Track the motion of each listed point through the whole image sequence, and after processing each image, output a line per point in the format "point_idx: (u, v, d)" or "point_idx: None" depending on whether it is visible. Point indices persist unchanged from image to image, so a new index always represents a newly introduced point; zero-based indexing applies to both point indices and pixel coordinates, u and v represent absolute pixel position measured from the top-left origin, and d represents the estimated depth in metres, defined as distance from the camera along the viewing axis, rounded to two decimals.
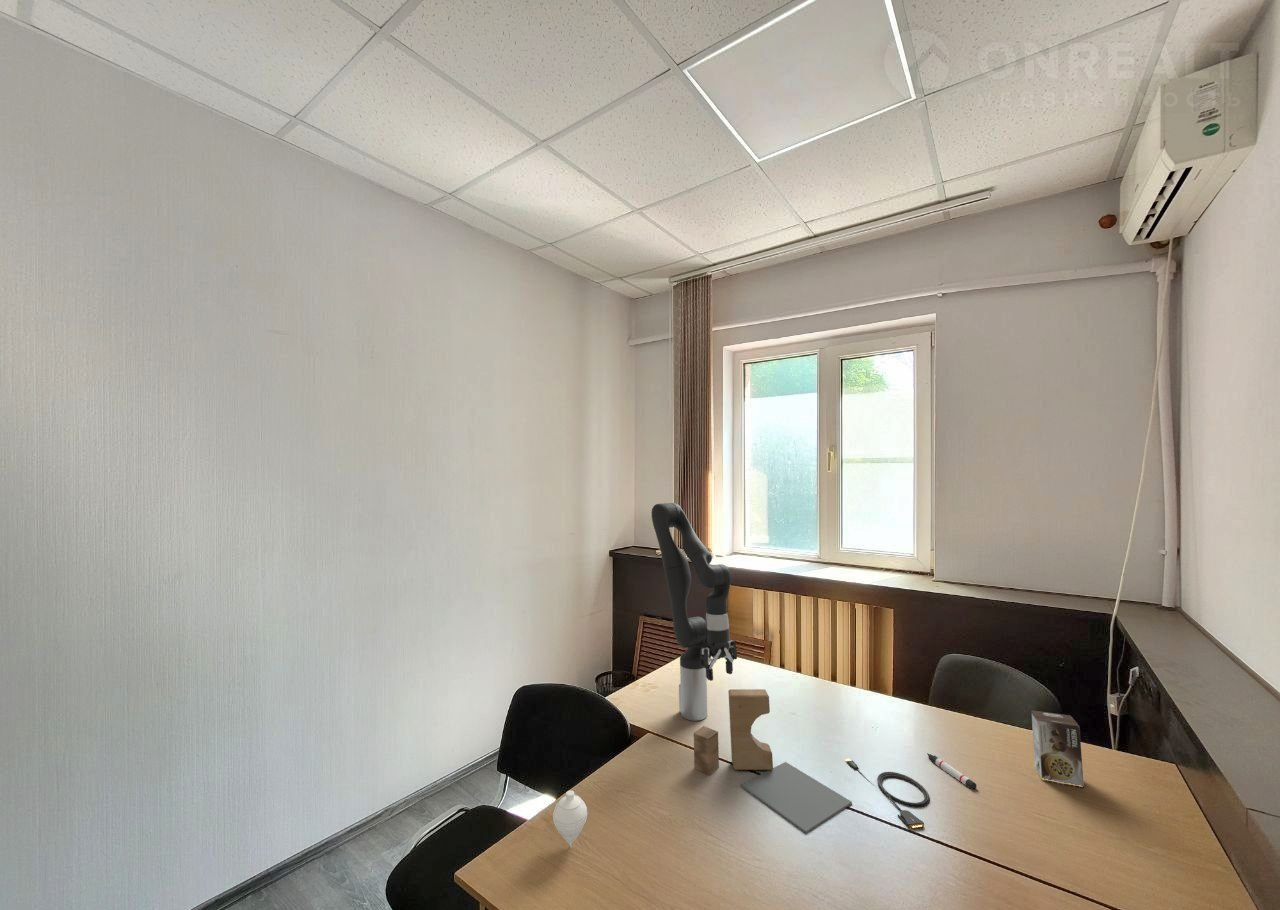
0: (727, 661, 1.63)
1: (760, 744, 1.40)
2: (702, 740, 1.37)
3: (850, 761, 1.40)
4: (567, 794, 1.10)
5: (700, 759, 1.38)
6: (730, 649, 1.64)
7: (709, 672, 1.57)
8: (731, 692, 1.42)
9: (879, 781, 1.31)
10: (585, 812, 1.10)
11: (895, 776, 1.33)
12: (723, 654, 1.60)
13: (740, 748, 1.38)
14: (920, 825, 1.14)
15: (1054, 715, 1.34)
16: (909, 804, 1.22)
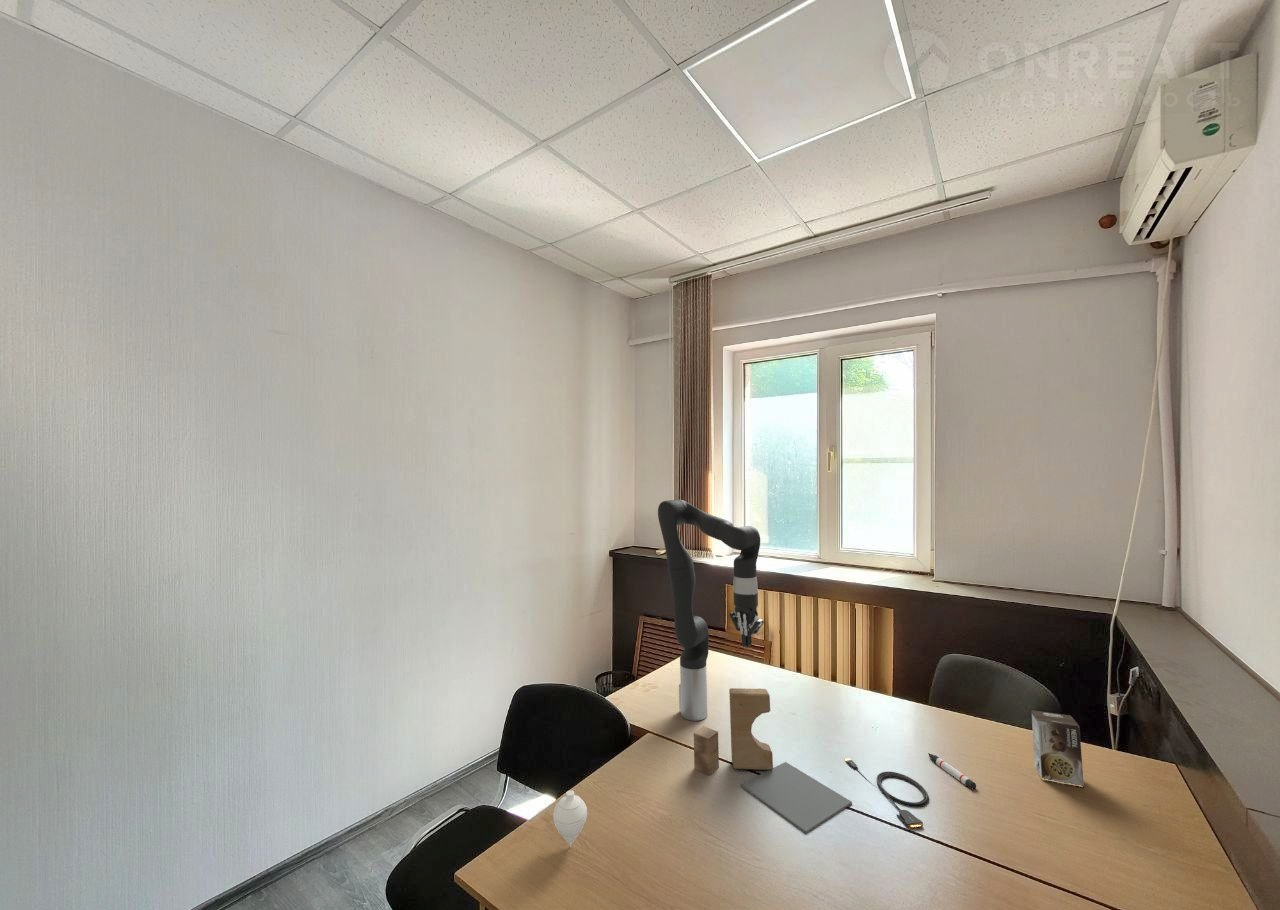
0: None
1: (760, 744, 1.40)
2: (702, 740, 1.37)
3: (849, 761, 1.40)
4: (567, 794, 1.10)
5: (700, 759, 1.38)
6: (736, 620, 1.55)
7: None
8: (732, 690, 1.43)
9: (878, 781, 1.31)
10: (585, 812, 1.10)
11: (895, 776, 1.33)
12: None
13: (740, 747, 1.38)
14: (919, 825, 1.14)
15: (1054, 715, 1.34)
16: (908, 804, 1.22)
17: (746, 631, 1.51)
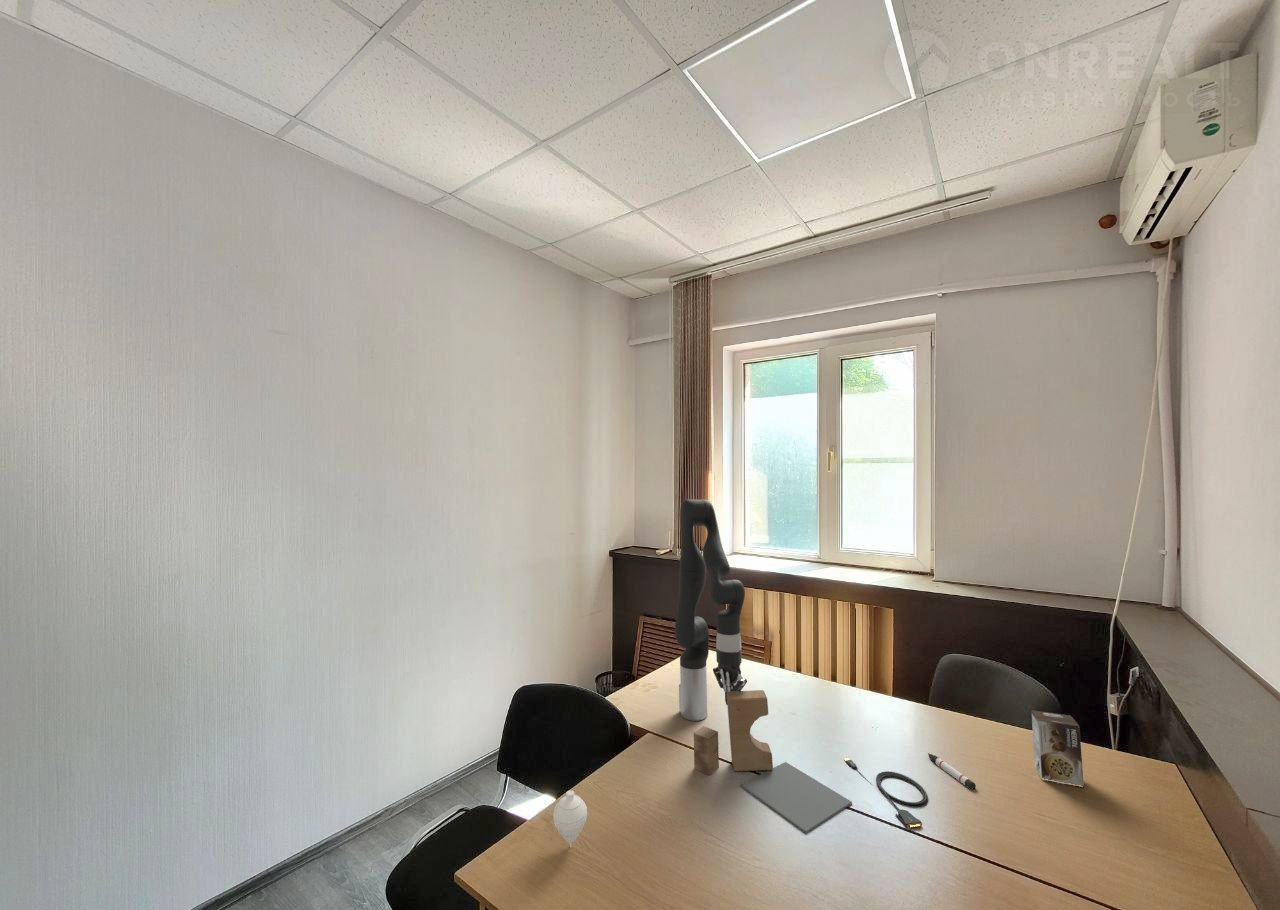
0: None
1: (759, 744, 1.40)
2: (702, 740, 1.37)
3: (849, 761, 1.40)
4: (567, 794, 1.10)
5: (700, 759, 1.38)
6: (720, 676, 1.50)
7: None
8: (729, 695, 1.41)
9: (878, 781, 1.31)
10: (585, 812, 1.10)
11: (894, 776, 1.33)
12: None
13: (740, 750, 1.37)
14: (918, 824, 1.15)
15: (1054, 715, 1.34)
16: (907, 804, 1.22)
17: (729, 689, 1.46)
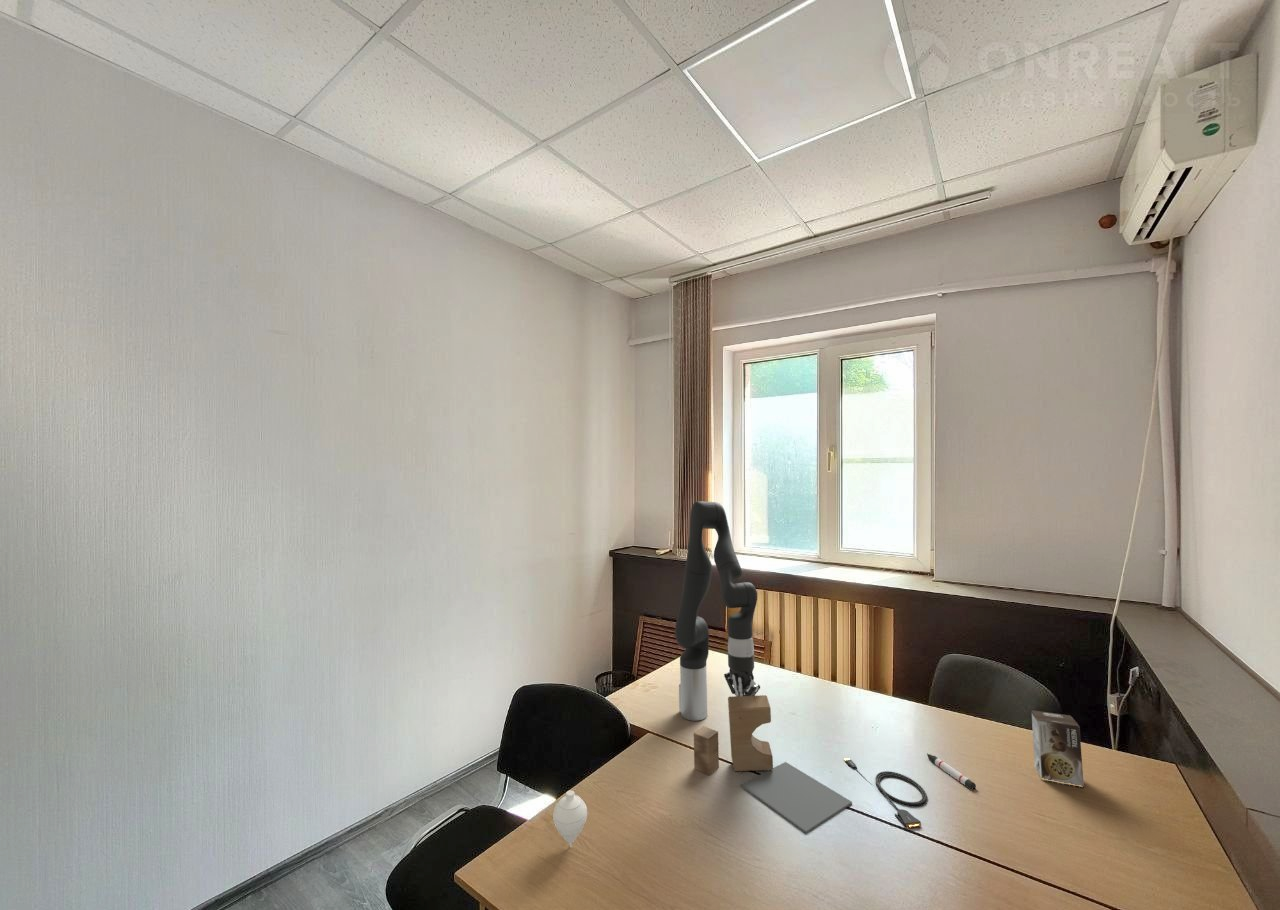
0: None
1: (760, 745, 1.38)
2: (702, 740, 1.37)
3: (849, 760, 1.41)
4: (567, 794, 1.10)
5: (700, 759, 1.38)
6: (732, 682, 1.46)
7: None
8: (731, 702, 1.36)
9: (877, 780, 1.31)
10: (585, 812, 1.10)
11: (894, 776, 1.33)
12: None
13: (740, 753, 1.36)
14: (917, 824, 1.15)
15: (1054, 715, 1.34)
16: (906, 803, 1.22)
17: None
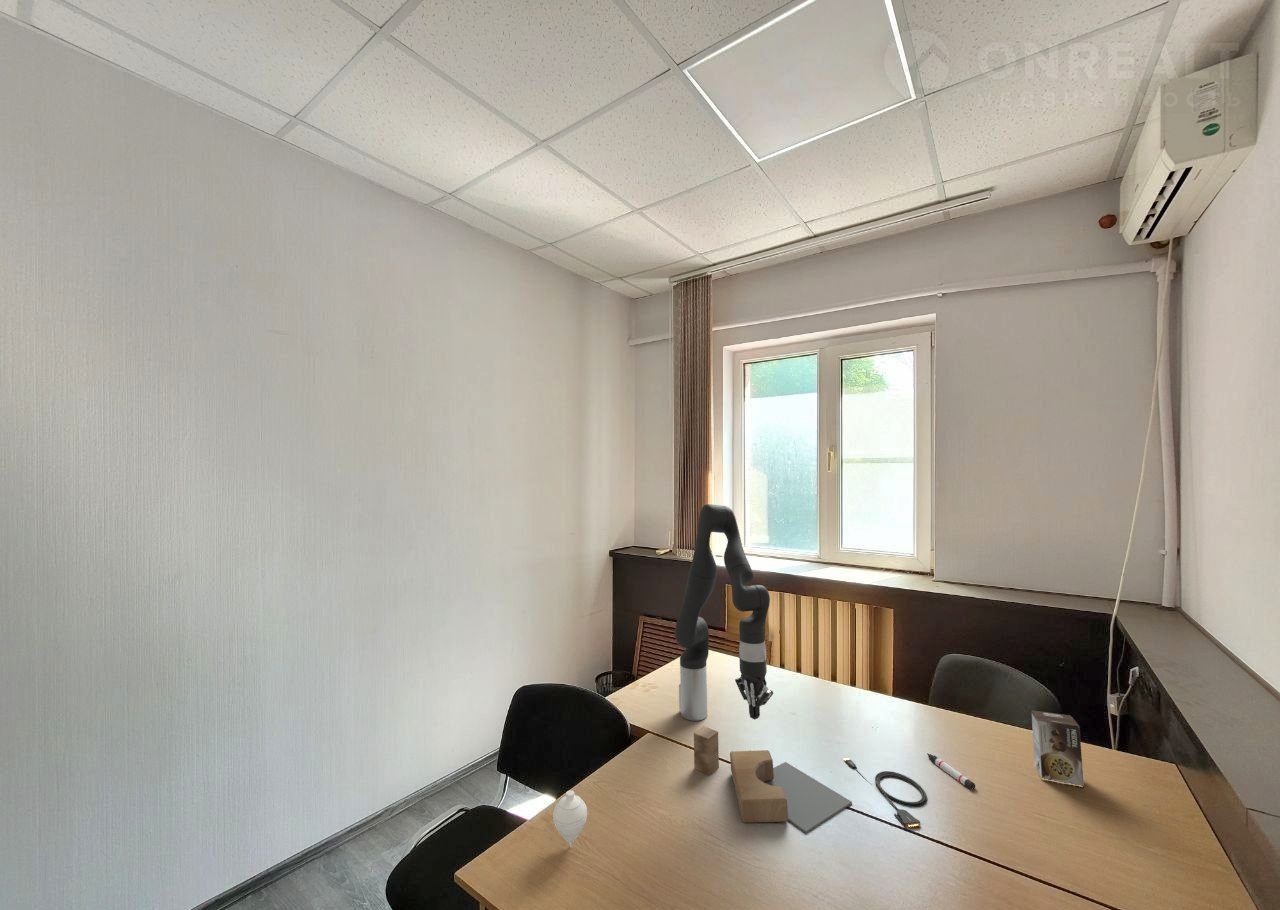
0: None
1: (763, 771, 1.31)
2: (702, 740, 1.37)
3: (848, 760, 1.41)
4: (567, 794, 1.10)
5: (700, 759, 1.38)
6: (743, 687, 1.42)
7: None
8: (744, 812, 1.17)
9: (877, 780, 1.31)
10: (585, 812, 1.10)
11: (893, 776, 1.33)
12: None
13: None
14: (916, 824, 1.15)
15: (1054, 715, 1.34)
16: (906, 803, 1.22)
17: (754, 702, 1.37)
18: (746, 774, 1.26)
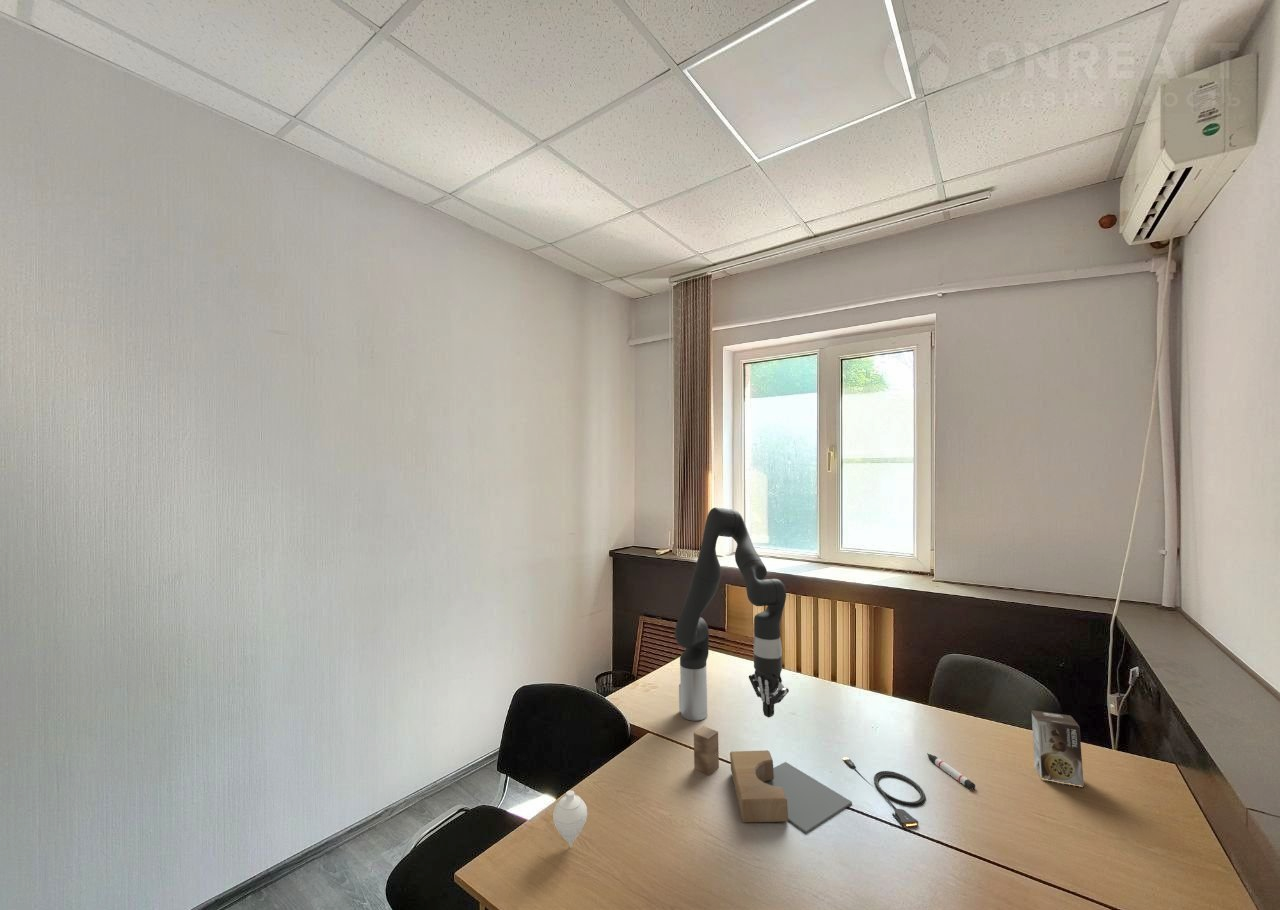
0: None
1: (763, 771, 1.31)
2: (702, 740, 1.37)
3: (847, 760, 1.41)
4: (567, 794, 1.10)
5: (700, 759, 1.38)
6: (757, 684, 1.37)
7: None
8: (744, 812, 1.17)
9: (875, 780, 1.31)
10: (585, 812, 1.10)
11: (892, 776, 1.34)
12: None
13: None
14: (914, 824, 1.15)
15: (1054, 715, 1.34)
16: (904, 803, 1.22)
17: (768, 699, 1.33)
18: (746, 774, 1.26)
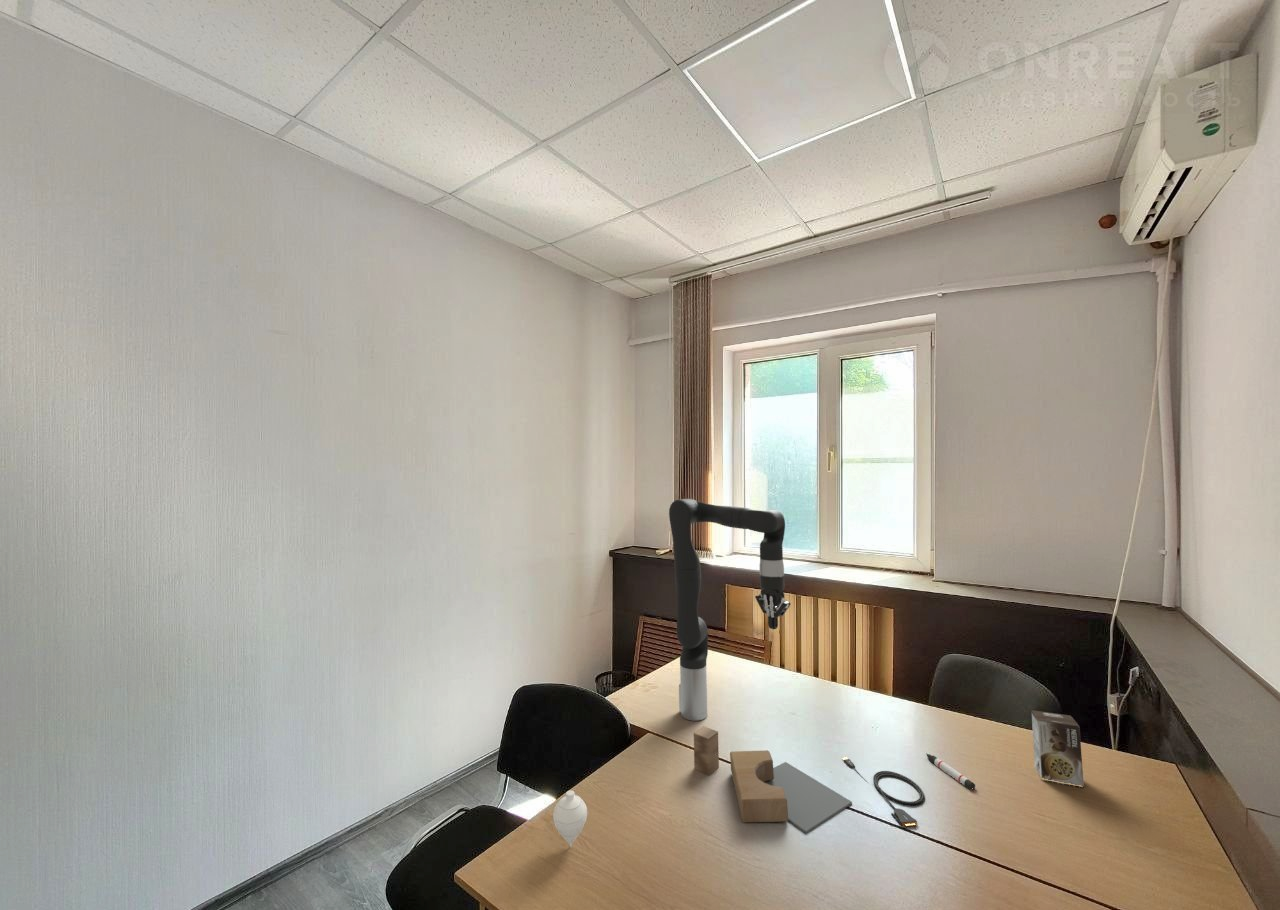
0: None
1: (763, 771, 1.31)
2: (702, 740, 1.37)
3: (847, 760, 1.41)
4: (567, 794, 1.10)
5: (700, 759, 1.38)
6: (762, 602, 1.57)
7: None
8: (744, 812, 1.17)
9: (875, 780, 1.31)
10: (585, 812, 1.10)
11: (892, 776, 1.34)
12: None
13: None
14: (913, 823, 1.15)
15: (1054, 715, 1.34)
16: (903, 803, 1.22)
17: (773, 613, 1.52)
18: (746, 774, 1.26)
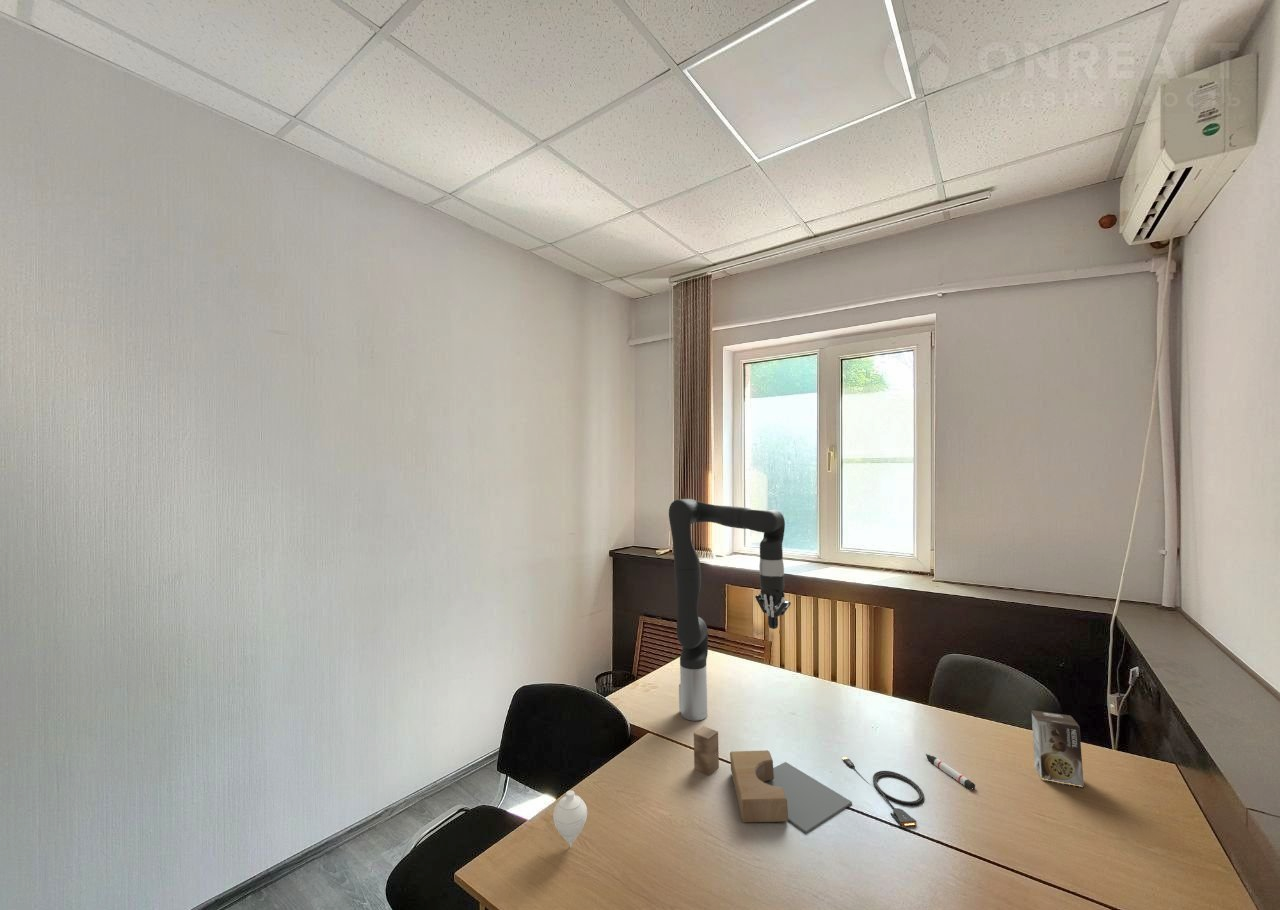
0: None
1: (763, 771, 1.31)
2: (702, 740, 1.37)
3: (847, 759, 1.41)
4: (567, 794, 1.10)
5: (700, 759, 1.38)
6: (763, 602, 1.57)
7: None
8: (744, 812, 1.17)
9: (874, 779, 1.31)
10: (585, 812, 1.10)
11: (891, 775, 1.34)
12: None
13: None
14: (912, 823, 1.15)
15: (1054, 715, 1.34)
16: (903, 803, 1.22)
17: (773, 613, 1.52)
18: (746, 774, 1.26)
